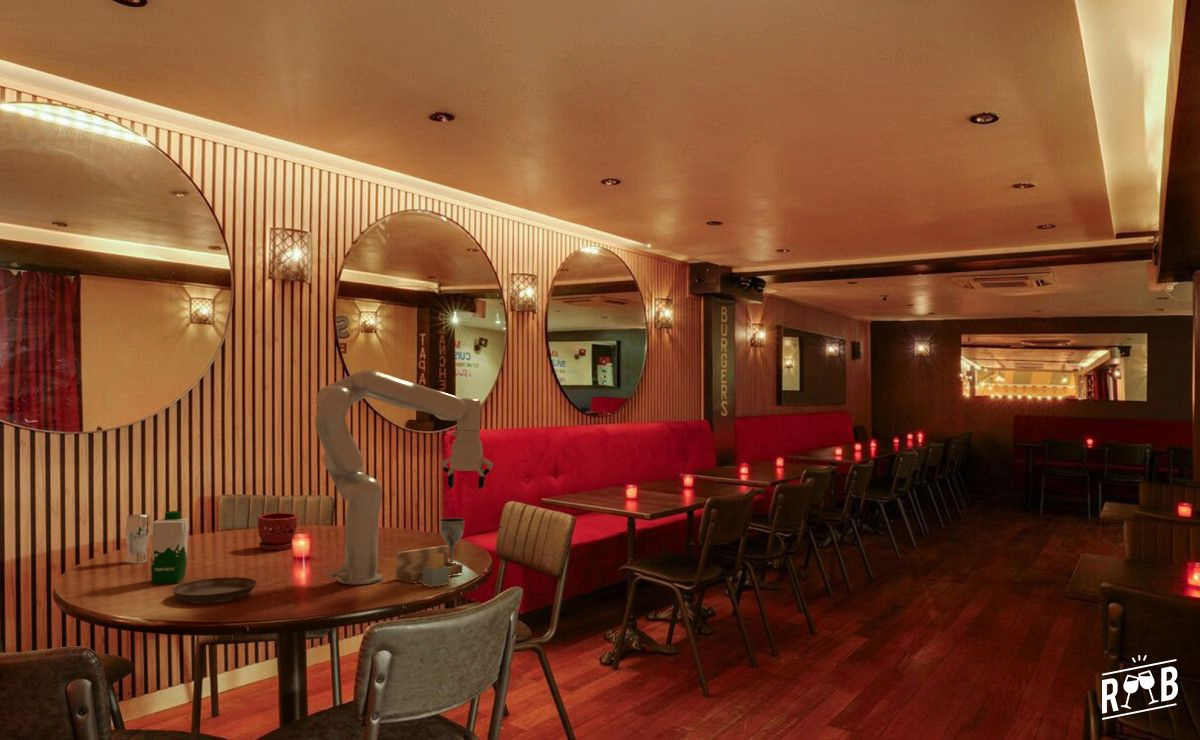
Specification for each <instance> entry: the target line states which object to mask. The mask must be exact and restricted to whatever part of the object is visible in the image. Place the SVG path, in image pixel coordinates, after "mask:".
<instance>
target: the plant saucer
mask: <svg viewBox="0 0 1200 740" xmlns="http://www.w3.org/2000/svg"><path fill="white" fill-rule="evenodd" d="M257 583H258V582H257V580H256V579H253V578H249V577H242V576H241V577H240V576H239V577H237V576H228V577H226V576H225V577H224V576H222V577H213V578H206V579H205V578H204V579H198V580H197V579H196V580H191V581H188V582H183V583H181V584H177V585H176V586H174V587H173V588H171V589H172V590H171V591H172V593H173V594H174V595H175V596H176V597H177V598H178V599H179V600H180V601H182V602H184V603H187V604H188V603H189V604H196V605H197V604H199V605H200V604H201V605H202V604H203V605H206V604H217V603H226V602H230V601H235V600H238V599H241V598H243V597H245V596H247V595H248V594H249V593H250V592H251V591H252V590H253V589H254V588H255V586H256V585H257Z"/></svg>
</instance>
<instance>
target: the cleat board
mask: <svg viewBox="0 0 1200 740" xmlns="http://www.w3.org/2000/svg"><path fill="white" fill-rule="evenodd" d="M435 553H443V554H444V566H446V567H449V575H453V574H458V573H462V574H463V564H462V565H460V564H456V563H452V562H449V561H450V560H449V556H450V554H449V553H450V548H449V545H448V544H444V545H438V546H431V547H425V548H418V549H412V550H404V551H398V552H396V567H395V568H396V571H395V572H396V573H395V574H396V576H395V579H396V578H399V579H401V580H400V581H402V580H405V581H408V582H411V583H414V582H419V581H422V580H423V568H424V567H429V554H435ZM405 581H404V582H405ZM408 582H407V583H408ZM411 583H410V584H411Z"/></svg>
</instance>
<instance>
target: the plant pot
mask: <svg viewBox="0 0 1200 740" xmlns="http://www.w3.org/2000/svg"><path fill="white" fill-rule="evenodd" d="M297 525H298V515H297V514H295V513H289V512H272V513H271V512H270V513H264V514H260V515H259V516H258V518H257V530H258V531H257V532H258V535H259V536H258V537H259V539H260V542H259V543H258V545H259V548H261V549H263V550H265V551H282V549H283V550H288V549H290V548H292V546H293V545H292V541H293V539H294V537H295V534H296V531H297ZM292 538H293V539H292Z"/></svg>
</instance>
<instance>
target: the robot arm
mask: <svg viewBox="0 0 1200 740" xmlns="http://www.w3.org/2000/svg"><path fill="white" fill-rule="evenodd" d="M366 398H369V399H372V400H376V401H379V402H383V403H386V404H388V405H390V406H391V405H392V406H395V407H398V408H401V409H406V410H410V411H416V412H417V411H418V412H424V413H428V414H431V415H434V416H435V417H436V418H438V420H442V421H456V431H452V433H451V435H452V437H455V439H453V442H452V446H451V451H450V452H451V453H450V457H447V458H446V459H443V460H441V461H440V465H441V467H442V469H443V471H444V472H445V473H446V475H447V477H448V478H447V485H448V486H449V487H448V488H450V489H451V488H454V487H455V475H454V473H455V472H456V471H468V472H469V471H470V472H477V473H478V474H479V477H478V484H477V485H478V486H477V487H478V489H479V490H482V489H483V487H484V486H485V476H486V475H488V474H489V472H490V471H491V470H492V468H493V466H494V463H493V462H492V461H490V460H488V459H487V458H485V457H484V453H483V443H482V442H483V441H482V440H480V436H481V433H480V432H481V431H480V430H481V413H482V412H481V410H482V402H481V400H480V399H478V398H460V397H458V396H455V395H453V394H449V393H446V392H443V391H439V390H437V389H434V388H430V387H426V386H424V385H421V384H418V383H415V382H411V381H408V380H405V379H403V378H399V377H396V376H393V375H390V374H386V373H384V372H381V371H378V370H373V369H366V370H361V371H357V372H356V373H353V374H351V375H349V376H347V377H344V378H341V379H340V380H337V381H335V382H333V383H331V384H328V385H326V386H324V387H323V388H321V389H320V390H319V391H318V392H317V393H316V398H315V402H316V405H317V407H318V408H317V410H316V415H315V431H316V433H317V436H318V438H319V440H320V442H321V445H322V447H323V449H324V451H325V453H324V457H323V463H324V465H325V468H326V470H327V472H328V474H329V476H330V478H331V480H332V482H333V484H334V485H335V488H336V489H337V491H338V493H339V494H340V496H341V498H343V500H345V501H346V502H348V504H347V509H346V510H347V511H346V515H345V538H344V539H345V540H344V541H345V542H344V565H341V566H340V568H339V569H338V570H329V571H328V578H330V579H332V578H338V582H339V583H341V584H344V585H353V586H356V585H357V586H358V585H371V584H374V583H379V582H380V581H381V580H383V575H382V574H381V573H379V572H378V559H379V558H378V551H379V549H378V548H379V526H380V525H379V523H380V522H379V521H380V520H379V518H380V509H381V503H382V496H383V493H382V488H381V485H380V483H379V481H378V480H377V479H376V478H375V477H373V476H370V475H368V474H366V473H365V472H364V469H363V464H364V458H363V457H364V456H363V454H362V452H361V450H360V449H359V447H358V445H357V444H356V442H355V440H354V438H353V436H352V433H351V431H350V429H349V427H348V424H347V420H346V419H347V414H348V412H349V410H350V408H351V406H352V405H354V404H355V403H358V402H359V401H361V400H363V399H366ZM448 463H450V464H449V465H450V466H449V467H450V468H449V467H448V465H447V464H448ZM484 464H486V466H487V467H486V468H485V469H483V467H484V466H483V465H484Z"/></svg>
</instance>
